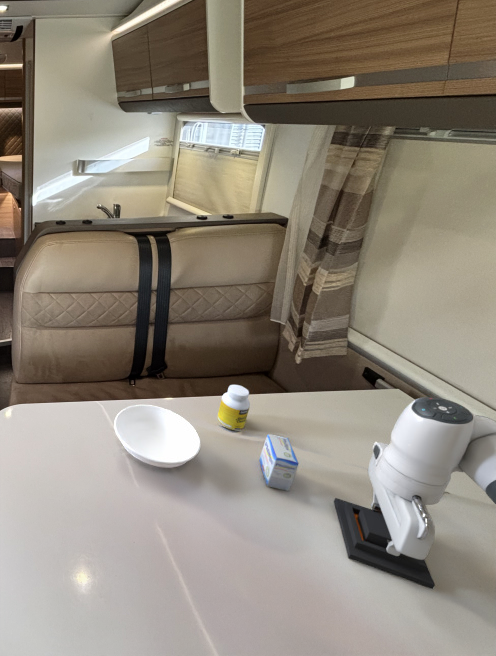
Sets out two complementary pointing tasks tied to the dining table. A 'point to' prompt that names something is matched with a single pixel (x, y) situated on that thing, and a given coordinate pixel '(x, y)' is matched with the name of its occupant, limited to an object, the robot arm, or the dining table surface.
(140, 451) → the bowl
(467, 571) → the dining table surface
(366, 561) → the picture frame
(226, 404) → the pill bottle
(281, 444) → the medicine box
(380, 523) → the black block
